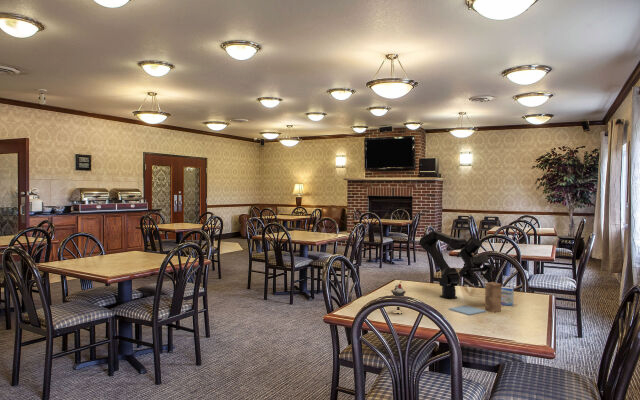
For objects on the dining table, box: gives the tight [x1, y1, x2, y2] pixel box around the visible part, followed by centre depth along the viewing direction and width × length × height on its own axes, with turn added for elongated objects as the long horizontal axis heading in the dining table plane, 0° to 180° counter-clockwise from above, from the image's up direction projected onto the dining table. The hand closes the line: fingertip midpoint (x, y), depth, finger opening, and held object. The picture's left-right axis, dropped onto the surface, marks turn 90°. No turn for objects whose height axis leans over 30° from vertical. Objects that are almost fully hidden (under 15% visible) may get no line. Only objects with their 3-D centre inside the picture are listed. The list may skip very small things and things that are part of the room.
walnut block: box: [484, 281, 502, 313], centre depth 220 cm, size 5×5×13 cm
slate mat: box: [448, 304, 487, 316], centre depth 219 cm, size 12×12×1 cm
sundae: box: [390, 281, 406, 311], centre depth 214 cm, size 7×7×15 cm
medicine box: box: [501, 286, 515, 307], centre depth 233 cm, size 8×4×9 cm, turn 62°
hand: (485, 284), depth 224 cm, fingers open, 9 cm apart
